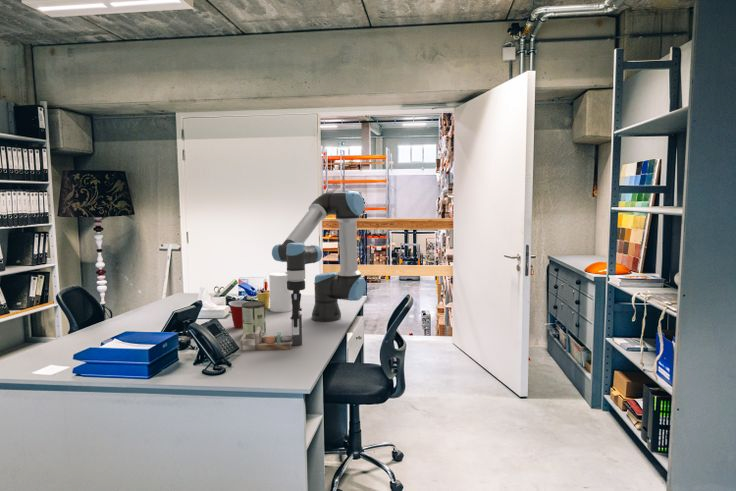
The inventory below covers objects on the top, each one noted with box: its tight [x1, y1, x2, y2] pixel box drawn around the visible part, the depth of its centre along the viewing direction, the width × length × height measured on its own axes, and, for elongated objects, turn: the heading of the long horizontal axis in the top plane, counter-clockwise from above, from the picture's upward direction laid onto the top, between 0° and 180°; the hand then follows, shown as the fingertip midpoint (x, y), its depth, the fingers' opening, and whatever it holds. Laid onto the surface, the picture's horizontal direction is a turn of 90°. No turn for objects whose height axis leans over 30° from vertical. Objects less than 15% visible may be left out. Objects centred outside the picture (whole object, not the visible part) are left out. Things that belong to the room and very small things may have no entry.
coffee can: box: [242, 300, 267, 337], centre depth 214 cm, size 10×10×14 cm
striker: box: [276, 313, 303, 346], centre depth 198 cm, size 10×4×12 cm, turn 96°
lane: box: [239, 327, 292, 351], centre depth 197 cm, size 20×12×6 cm, turn 96°
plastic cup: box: [228, 300, 249, 330], centre depth 226 cm, size 11×11×12 cm
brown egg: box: [265, 335, 276, 344], centre depth 198 cm, size 4×4×4 cm
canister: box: [268, 271, 293, 313], centre depth 263 cm, size 14×14×20 cm
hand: (296, 330), depth 198 cm, fingers open, 13 cm apart
